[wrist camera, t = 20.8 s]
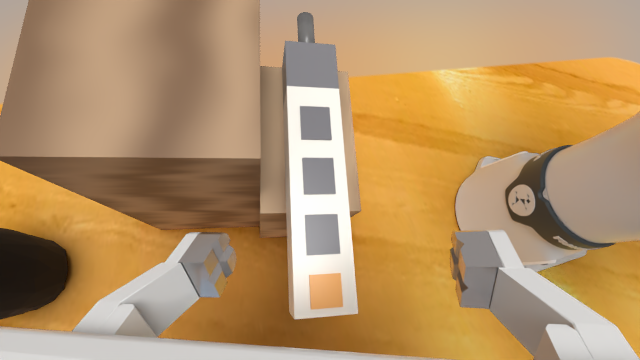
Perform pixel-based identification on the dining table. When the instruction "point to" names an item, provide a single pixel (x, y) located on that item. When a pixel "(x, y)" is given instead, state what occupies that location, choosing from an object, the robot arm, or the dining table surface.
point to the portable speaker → (29, 272)
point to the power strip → (316, 181)
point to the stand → (156, 111)
